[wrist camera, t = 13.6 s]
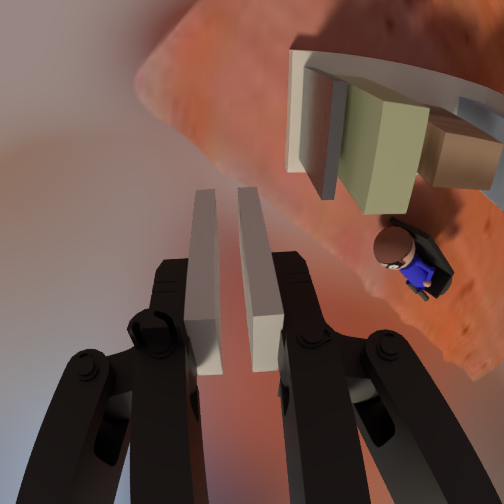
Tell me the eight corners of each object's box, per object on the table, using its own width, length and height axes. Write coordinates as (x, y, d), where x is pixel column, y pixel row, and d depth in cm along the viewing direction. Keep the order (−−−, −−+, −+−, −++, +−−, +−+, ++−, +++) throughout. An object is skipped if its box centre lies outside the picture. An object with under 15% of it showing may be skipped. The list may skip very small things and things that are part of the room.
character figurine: (406, 281, 45) (357, 227, 38) (444, 255, 42) (403, 192, 35) (424, 321, 40) (376, 272, 32) (466, 294, 36) (431, 234, 29)
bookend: (303, 66, 24) (333, 80, 18) (314, 67, 24) (347, 82, 18) (298, 158, 30) (321, 199, 24) (308, 158, 30) (333, 199, 24)
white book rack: (289, 49, 24) (310, 55, 19) (484, 86, 26) (528, 106, 20) (284, 166, 32) (300, 203, 26) (465, 173, 34) (500, 204, 28)
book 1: (327, 73, 25) (383, 101, 16) (363, 77, 25) (429, 108, 16) (321, 153, 30) (363, 214, 21) (354, 154, 30) (405, 213, 21)
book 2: (385, 97, 26) (445, 132, 18) (441, 107, 27) (503, 144, 19) (379, 139, 29) (432, 187, 21) (433, 145, 30) (489, 190, 22)
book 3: (459, 96, 26) (531, 134, 17) (480, 102, 26) (549, 141, 17) (446, 161, 31) (505, 214, 22) (466, 163, 31) (524, 214, 23)
